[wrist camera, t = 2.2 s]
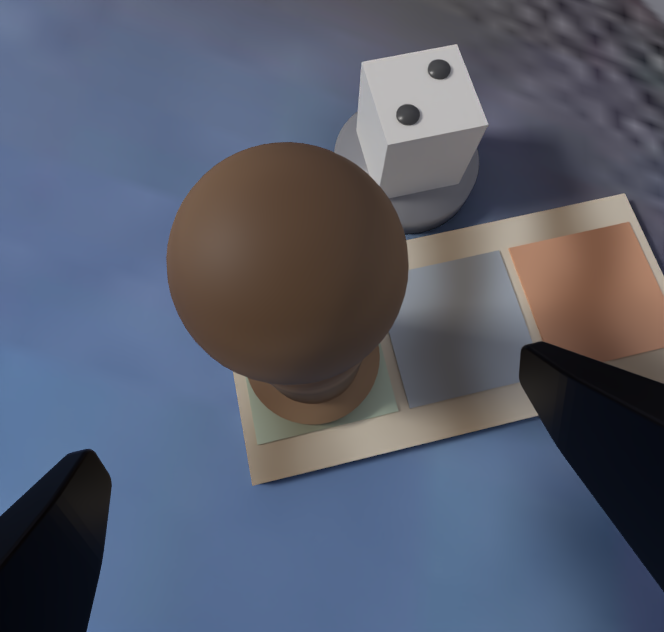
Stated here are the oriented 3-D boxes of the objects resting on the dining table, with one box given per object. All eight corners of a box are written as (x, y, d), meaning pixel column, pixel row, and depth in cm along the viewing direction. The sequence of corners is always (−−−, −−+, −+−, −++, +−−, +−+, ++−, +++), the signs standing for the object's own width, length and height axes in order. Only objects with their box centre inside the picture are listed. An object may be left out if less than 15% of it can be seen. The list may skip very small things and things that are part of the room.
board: (616, 200, 21) (626, 192, 21) (697, 375, 19) (711, 373, 18) (220, 285, 20) (217, 280, 19) (254, 483, 18) (252, 486, 17)
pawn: (401, 338, 19) (532, 155, 6) (333, 451, 17) (338, 491, 5) (294, 274, 20) (231, 5, 7) (222, 378, 18) (-1, 264, 6)
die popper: (447, 103, 23) (480, 8, 18) (489, 217, 21) (540, 148, 16) (320, 128, 22) (317, 37, 17) (352, 247, 21) (358, 185, 16)
